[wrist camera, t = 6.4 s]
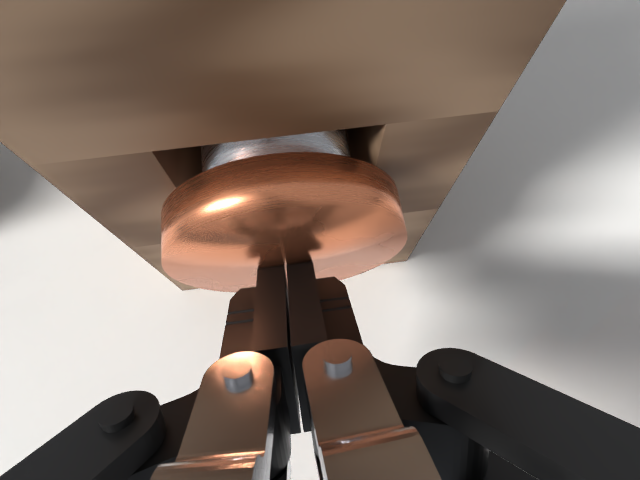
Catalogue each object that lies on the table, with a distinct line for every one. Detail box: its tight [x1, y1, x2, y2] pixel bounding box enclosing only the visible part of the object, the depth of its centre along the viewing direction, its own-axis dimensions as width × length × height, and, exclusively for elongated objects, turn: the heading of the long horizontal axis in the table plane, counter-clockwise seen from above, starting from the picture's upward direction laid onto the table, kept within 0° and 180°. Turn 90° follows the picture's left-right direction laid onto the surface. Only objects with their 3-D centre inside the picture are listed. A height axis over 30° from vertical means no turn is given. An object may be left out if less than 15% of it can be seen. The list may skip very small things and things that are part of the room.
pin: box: [161, 129, 407, 292], centre depth 13 cm, size 6×13×6 cm, turn 8°
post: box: [0, 0, 567, 290], centre depth 13 cm, size 10×8×16 cm
